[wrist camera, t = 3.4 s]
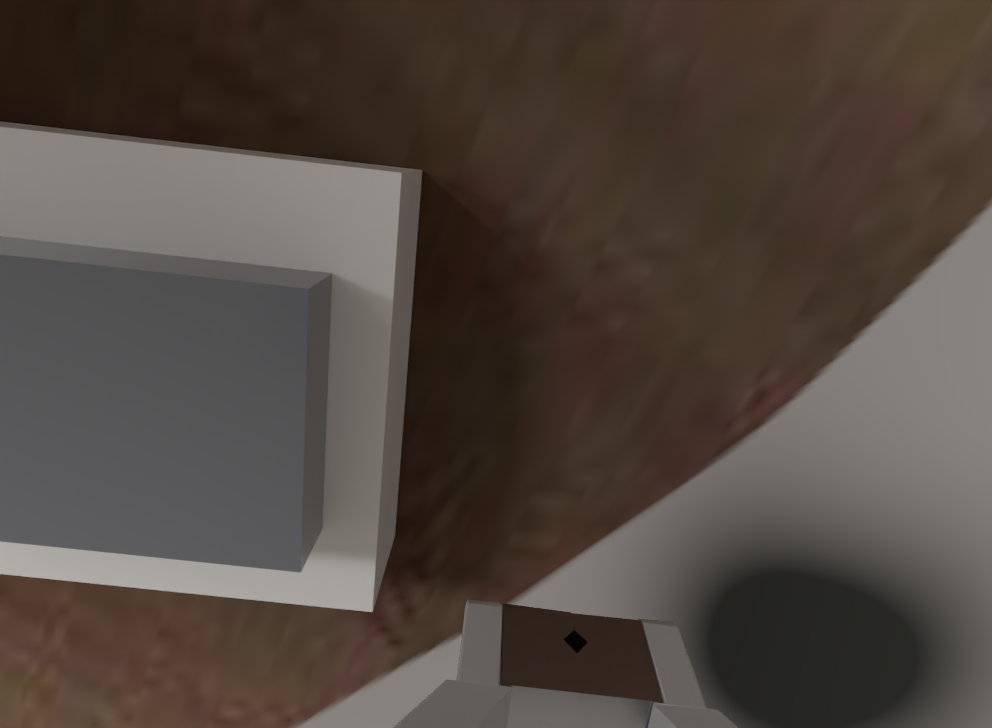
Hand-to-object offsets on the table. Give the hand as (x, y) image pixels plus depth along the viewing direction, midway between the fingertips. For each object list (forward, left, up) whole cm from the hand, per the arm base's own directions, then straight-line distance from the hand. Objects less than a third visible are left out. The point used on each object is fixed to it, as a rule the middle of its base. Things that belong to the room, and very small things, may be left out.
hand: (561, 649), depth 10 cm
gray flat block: (-10, 0, -8) cm, 13 cm away
